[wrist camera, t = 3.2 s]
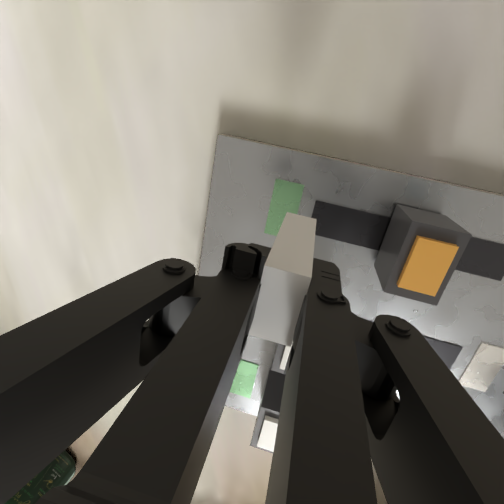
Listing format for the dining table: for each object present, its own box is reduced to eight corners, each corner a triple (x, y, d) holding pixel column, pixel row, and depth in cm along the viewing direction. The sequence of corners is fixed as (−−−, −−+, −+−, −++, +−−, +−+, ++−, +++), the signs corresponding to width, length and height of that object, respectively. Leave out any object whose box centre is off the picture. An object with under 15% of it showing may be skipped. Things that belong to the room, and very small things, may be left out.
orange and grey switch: (417, 276, 22) (439, 309, 18) (373, 264, 22) (384, 295, 18) (445, 215, 20) (475, 237, 16) (396, 204, 20) (414, 222, 16)
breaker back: (291, 416, 29) (286, 462, 25) (259, 405, 29) (249, 450, 25) (303, 379, 27) (300, 424, 23) (269, 369, 27) (259, 410, 23)
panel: (476, 474, 29) (484, 492, 27) (188, 380, 32) (182, 392, 31) (659, 228, 19) (686, 236, 18) (224, 134, 23) (217, 134, 21)
